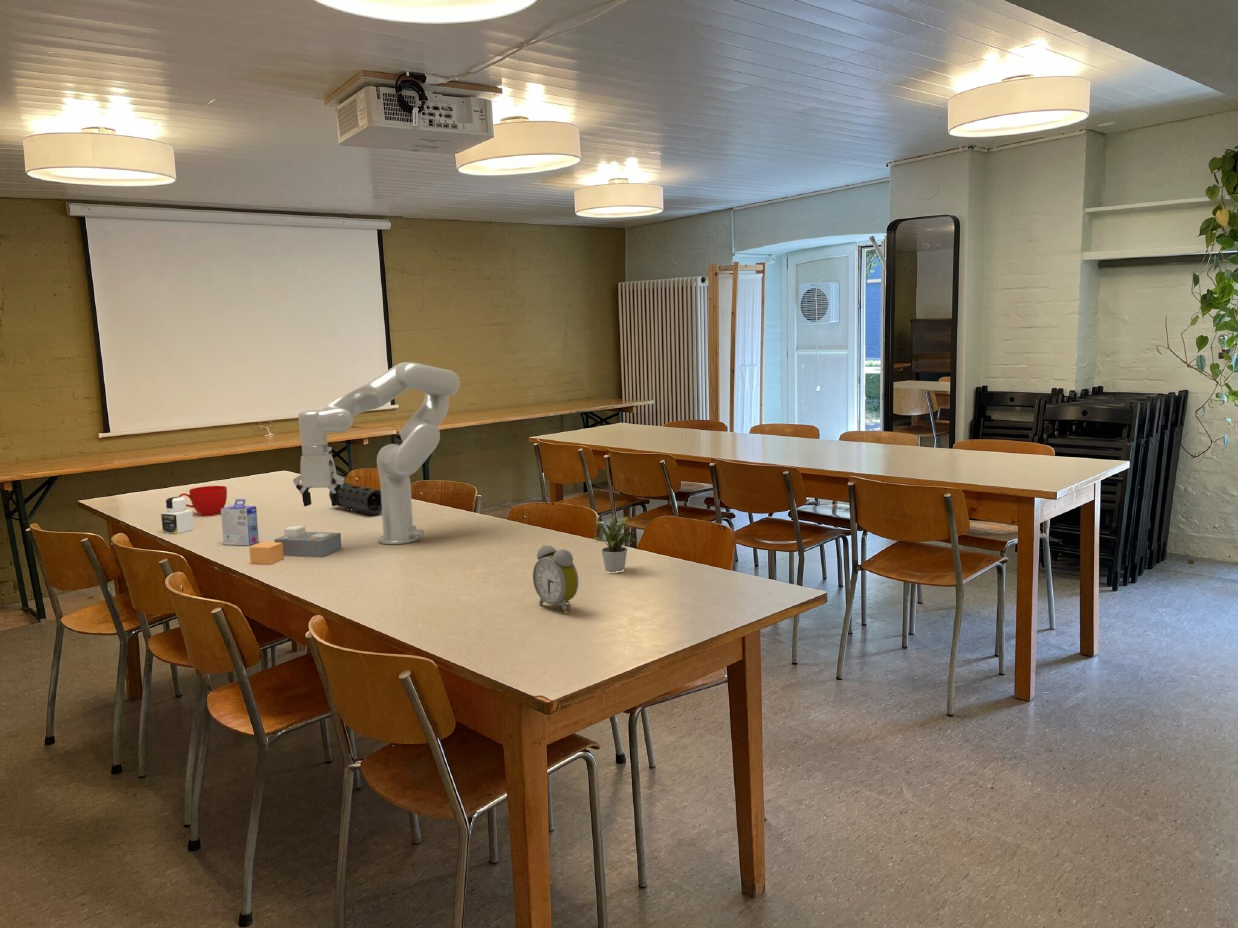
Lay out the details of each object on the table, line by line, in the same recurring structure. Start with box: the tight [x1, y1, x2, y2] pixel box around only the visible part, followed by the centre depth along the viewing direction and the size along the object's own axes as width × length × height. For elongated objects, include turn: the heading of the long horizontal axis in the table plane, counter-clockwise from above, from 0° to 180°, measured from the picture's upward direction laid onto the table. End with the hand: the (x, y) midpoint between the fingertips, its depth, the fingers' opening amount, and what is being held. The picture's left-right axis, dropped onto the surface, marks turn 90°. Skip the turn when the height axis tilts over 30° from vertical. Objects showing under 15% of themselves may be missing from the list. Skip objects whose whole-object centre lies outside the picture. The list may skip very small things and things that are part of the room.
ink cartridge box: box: [220, 498, 260, 546], centre depth 281 cm, size 10×6×14 cm, turn 78°
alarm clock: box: [532, 544, 579, 613], centre depth 208 cm, size 12×7×15 cm, turn 45°
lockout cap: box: [249, 541, 285, 565], centre depth 259 cm, size 7×7×5 cm
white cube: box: [283, 525, 306, 538], centre depth 270 cm, size 4×4×4 cm
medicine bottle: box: [160, 496, 195, 535], centre depth 302 cm, size 7×7×12 cm
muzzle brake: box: [328, 482, 382, 517], centre depth 331 cm, size 10×28×10 cm, turn 47°
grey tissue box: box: [274, 531, 342, 558], centre depth 269 cm, size 16×11×6 cm
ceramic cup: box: [178, 485, 228, 517], centre depth 331 cm, size 13×17×10 cm
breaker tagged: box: [310, 532, 331, 539], centre depth 268 cm, size 4×4×4 cm
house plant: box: [587, 513, 637, 572], centre depth 239 cm, size 14×14×16 cm
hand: (321, 505), depth 267 cm, fingers open, 9 cm apart
